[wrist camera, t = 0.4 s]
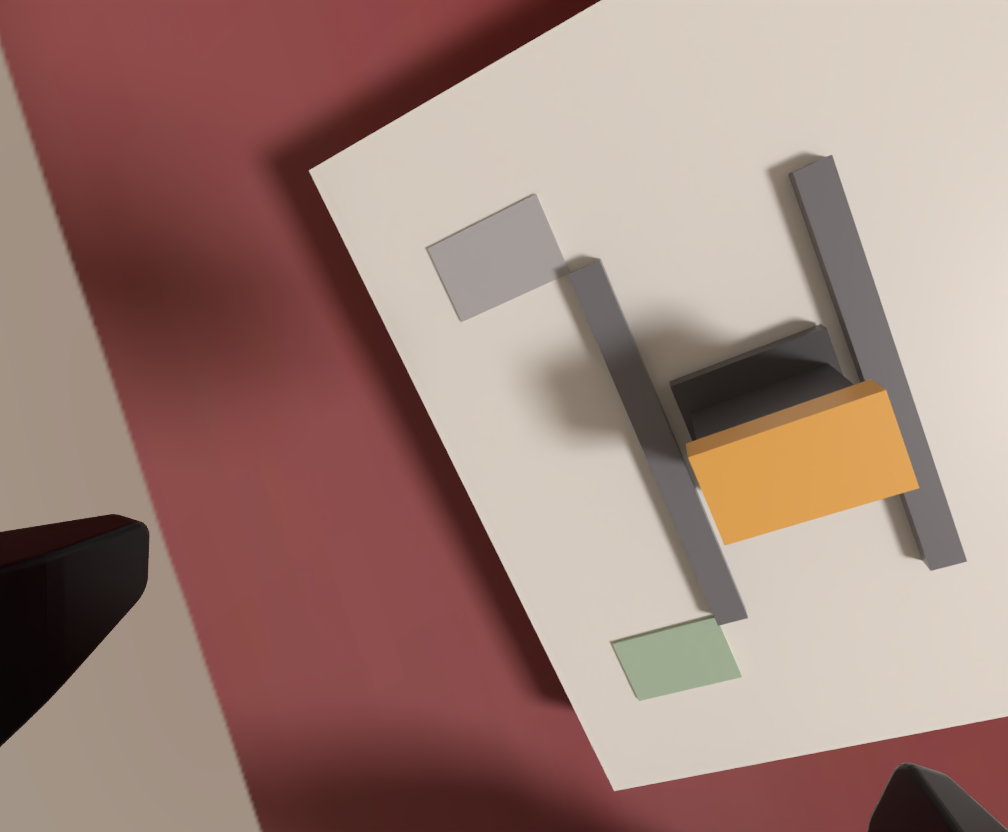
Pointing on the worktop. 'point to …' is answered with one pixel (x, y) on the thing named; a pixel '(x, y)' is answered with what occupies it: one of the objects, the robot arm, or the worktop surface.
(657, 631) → the breaker box
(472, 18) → the worktop surface
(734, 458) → the breaker toggle
